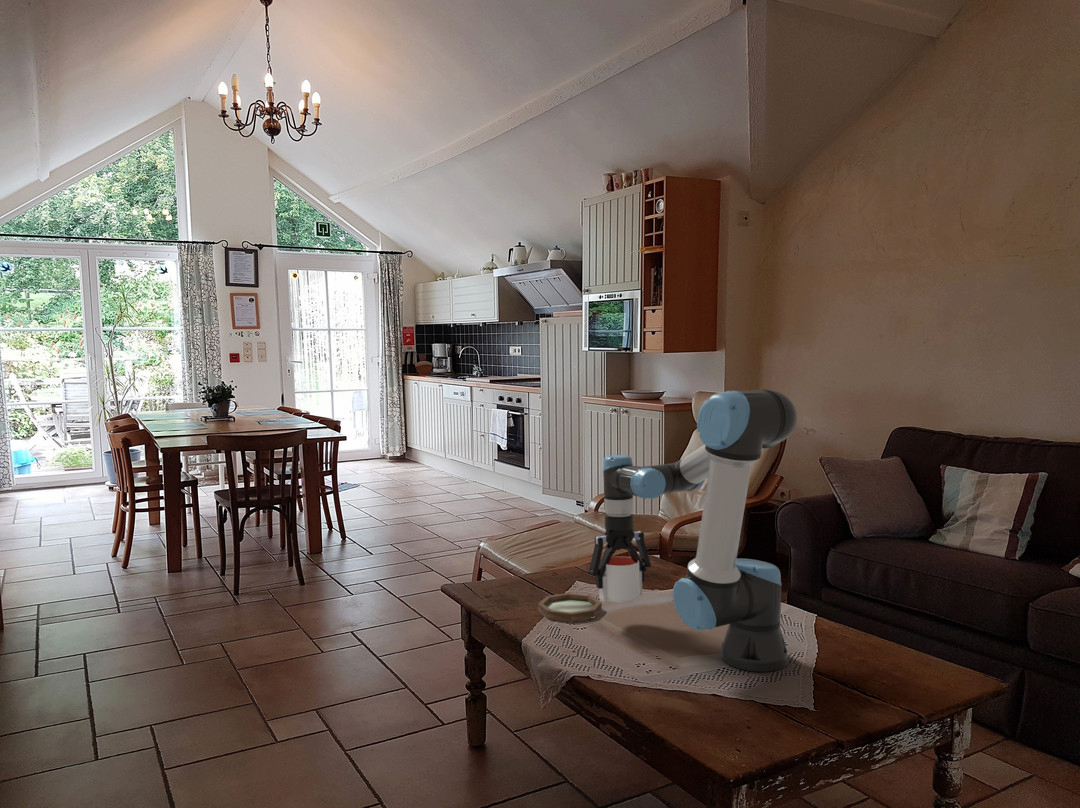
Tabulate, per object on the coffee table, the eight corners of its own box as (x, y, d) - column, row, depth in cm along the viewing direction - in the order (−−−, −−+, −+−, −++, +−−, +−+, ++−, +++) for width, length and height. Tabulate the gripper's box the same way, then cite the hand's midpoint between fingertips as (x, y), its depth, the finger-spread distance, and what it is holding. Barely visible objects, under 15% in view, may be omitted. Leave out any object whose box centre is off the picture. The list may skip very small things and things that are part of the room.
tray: (609, 615, 209) (609, 607, 209) (555, 624, 203) (555, 616, 203) (583, 597, 224) (583, 590, 224) (531, 606, 218) (531, 598, 218)
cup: (641, 603, 198) (641, 565, 197) (603, 604, 198) (602, 566, 197) (637, 592, 208) (636, 556, 207) (601, 593, 208) (600, 556, 207)
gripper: (648, 507, 210) (650, 587, 211) (574, 515, 201) (576, 599, 202) (663, 511, 203) (665, 594, 204) (587, 520, 194) (589, 607, 195)
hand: (620, 597), depth 203 cm, fingers closed on cup, 10 cm apart
